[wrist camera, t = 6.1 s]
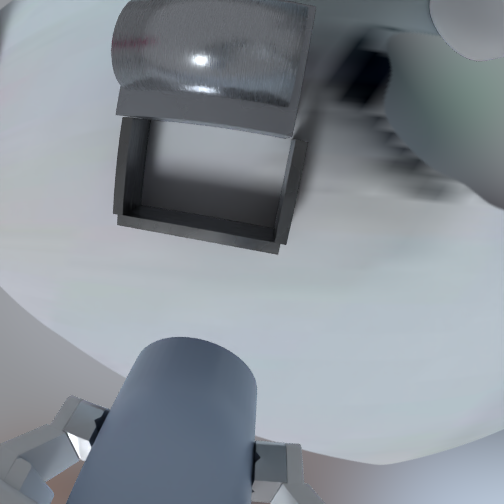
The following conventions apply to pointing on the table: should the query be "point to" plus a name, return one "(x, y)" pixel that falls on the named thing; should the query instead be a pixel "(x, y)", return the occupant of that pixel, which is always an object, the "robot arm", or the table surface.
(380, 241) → the table surface
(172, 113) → the dark grey piece
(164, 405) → the light blue bottle
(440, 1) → the pill bottle
